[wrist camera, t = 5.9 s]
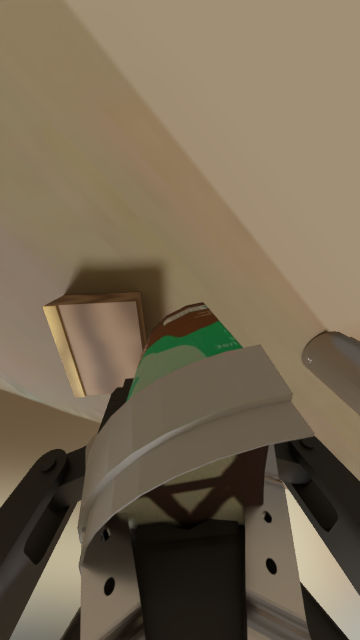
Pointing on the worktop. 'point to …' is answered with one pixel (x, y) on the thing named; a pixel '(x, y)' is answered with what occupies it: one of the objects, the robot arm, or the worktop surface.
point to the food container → (189, 431)
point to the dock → (98, 339)
